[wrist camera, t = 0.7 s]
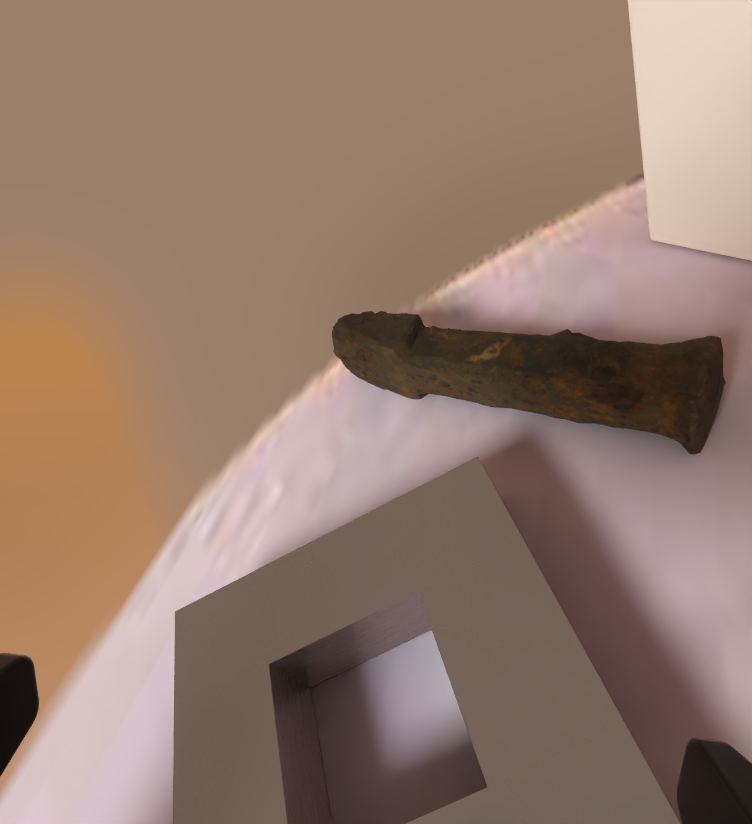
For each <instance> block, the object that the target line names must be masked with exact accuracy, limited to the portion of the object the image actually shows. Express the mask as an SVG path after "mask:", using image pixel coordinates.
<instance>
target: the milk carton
mask: <svg viewBox="0 0 752 824" xmlns="http://www.w3.org/2000/svg"><path fill="white" fill-rule="evenodd" d="M628 7H629V18H630V29H631V40H632V51H633V61H634V72H635V83H636V94H637V104H638V115H639V126H640V137H641V146H642V147H641V148H642V159H643V169H644V180H645V191H646V202H647V213H648V223H649V234H650V238H651V240H654V241H658V242H663V243H667V244H672V245H677V246H682V247H687V248H692V249H697V250H702V251H707V252H711V253H716V254H721V255H726V256H731V257H736V258H741V259H746V260H751V261H752V0H628Z"/></svg>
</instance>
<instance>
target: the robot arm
mask: <svg viewBox="0 0 752 824" xmlns="http://www.w3.org/2000/svg"><path fill="white" fill-rule="evenodd" d="M38 707H39V698H38V691H37V684H36V678H35V670H34V664H33V661H32V660H31V659H30V657H28V656H25V655H17V654H10V653H1V654H0V776H1V775H2V773H3V771H4V770H5V768H6V766H7V765H8V763H9V762H10V760H11V758H12V757H13V755H14V753H15V752H16V750H17V749H18V747H19V745H20V744H21V742H22V740H23V739H24V737H25V735H26V734H27V732H28V731H29V729H30V727H31V726H32V724H33V722H34V720H35V718H36V715H37V712H38ZM677 802H678V808H679V812H680V816H681V820H682V823H683V824H752V763H750V762H749V761H748V760H747V759H746V758H745V757H743V756H742V755H741V754H740V753H739V752H738V751H736V750H735V749H734V748H733V747H731V746H730V745H729V744H727V743H725V742H722V741H716V740H708V739H700V738H694V739H691V740H690V741H689V742H688V744H687V747H686V750H685V755H684V759H683V764H682V768H681V773H680V777H679V782H678V786H677Z"/></svg>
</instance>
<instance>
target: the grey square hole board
mask: <svg viewBox="0 0 752 824" xmlns="http://www.w3.org/2000/svg"><path fill="white" fill-rule="evenodd" d="M430 630H432V631H433V634H434V637H435V640H436V643H437V645H438V648H439V651H440V654H441V657H442V660H443V662H444V665H445V668H446V671H447V674H448V677H449V679H450V682H451V685H452V688H453V691H454V694H455V697H456V699H457V702H458V705H459V708H460V711H461V714H462V716H463V719H464V722H465V725H466V728H467V731H468V733H469V736H470V739H471V742H472V745H473V748H474V750H475V753H476V756H477V759H478V762H479V765H480V767H481V770H482V773H483V776H484V779H485V782H486V784H487V788H485V789H483V790H480V791H478V792H476V793H473V794H471V795H469V796H467V797H464V798H462V799H460V800H458V801H455V802H453V803H451V804H449V805H446V806H444V807H442V808H439V809H437V810H435V811H433V812H430V813H428V814H426V815H424V816H421V817H419V818H417V819H415V820H412V821H410V822H408V823H405V824H680V822H679V820H678V818H677V816H676V815H675V813H674V811H673V809H672V807H671V806H670V804H669V802H668V800H667V798H666V797H665V795H664V793H663V791H662V789H661V787H660V786H659V784H658V782H657V780H656V778H655V777H654V775H653V773H652V771H651V769H650V768H649V766H648V764H647V762H646V760H645V759H644V757H643V755H642V753H641V751H640V749H639V748H638V746H637V744H636V742H635V740H634V739H633V737H632V735H631V733H630V731H629V730H628V728H627V726H626V724H625V722H624V720H623V719H622V717H621V715H620V713H619V711H618V710H617V708H616V706H615V704H614V702H613V701H612V699H611V697H610V695H609V693H608V691H607V690H606V688H605V686H604V684H603V682H602V681H601V679H600V677H599V675H598V673H597V672H596V670H595V668H594V666H593V664H592V663H591V661H590V659H589V657H588V655H587V653H586V652H585V650H584V648H583V646H582V644H581V643H580V641H579V639H578V637H577V635H576V634H575V632H574V630H573V628H572V626H571V624H570V623H569V621H568V619H567V617H566V615H565V614H564V612H563V610H562V608H561V606H560V605H559V603H558V601H557V599H556V597H555V595H554V594H553V592H552V590H551V588H550V586H549V585H548V583H547V581H546V579H545V577H544V576H543V574H542V572H541V570H540V568H539V567H538V565H537V563H536V561H535V559H534V557H533V556H532V554H531V552H530V550H529V548H528V547H527V545H526V543H525V541H524V539H523V538H522V536H521V534H520V532H519V530H518V528H517V527H516V525H515V523H514V521H513V519H512V518H511V516H510V514H509V512H508V510H507V509H506V507H505V505H504V503H503V501H502V499H501V498H500V496H499V494H498V492H497V490H496V489H495V487H494V485H493V483H492V481H491V480H490V478H489V476H488V474H487V472H486V471H485V469H484V467H483V465H482V463H481V461H480V460H479V458H478V457H477V458H475V459H473V460H471V461H469V462H467V463H465V464H463V465H461V466H459V467H457V468H455V469H453V470H451V471H449V472H447V473H445V474H444V475H442V476H440V477H438V478H436V479H434V480H432V481H430V482H428V483H426V484H424V485H422V486H420V487H418V488H416V489H414V490H412V491H410V492H408V493H406V494H404V495H402V496H400V497H399V498H397V499H395V500H393V501H391V502H389V503H387V504H385V505H383V506H381V507H379V508H377V509H375V510H373V511H371V512H369V513H367V514H365V515H363V516H361V517H359V518H357V519H355V520H354V521H352V522H350V523H348V524H346V525H344V526H342V527H340V528H338V529H336V530H334V531H332V532H330V533H328V534H326V535H324V536H322V537H320V538H318V539H316V540H314V541H312V542H310V543H309V544H307V545H305V546H303V547H301V548H299V549H297V550H295V551H293V552H291V553H289V554H287V555H285V556H283V557H281V558H279V559H277V560H275V561H273V562H271V563H269V564H267V565H265V566H264V567H262V568H260V569H258V570H256V571H254V572H252V573H250V574H248V575H246V576H244V577H242V578H240V579H238V580H236V581H234V582H232V583H230V584H228V585H226V586H224V587H222V588H220V589H219V590H217V591H215V592H213V593H211V594H209V595H207V596H205V597H203V598H201V599H199V600H197V601H195V602H193V603H191V604H189V605H187V606H185V607H183V608H181V609H179V610H177V611H175V675H174V777H173V824H332V818H331V812H330V806H329V800H328V794H327V788H326V782H325V776H324V770H323V764H322V758H321V752H320V746H319V740H318V734H317V728H316V722H315V716H314V710H313V704H312V698H311V692H310V688H311V687H313V686H315V685H317V684H319V683H321V682H323V681H325V680H327V679H329V678H332V677H334V676H336V675H338V674H340V673H342V672H344V671H346V670H348V669H350V668H352V667H354V666H357V665H359V664H361V663H363V662H365V661H367V660H369V659H371V658H373V657H375V656H377V655H379V654H382V653H384V652H386V651H388V650H390V649H392V648H394V647H396V646H398V645H400V644H402V643H404V642H407V641H409V640H411V639H413V638H415V637H417V636H419V635H421V634H423V633H425V632H427V631H430Z"/></svg>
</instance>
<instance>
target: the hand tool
mask: <svg viewBox="0 0 752 824" xmlns="http://www.w3.org/2000/svg"><path fill="white" fill-rule="evenodd" d="M332 338H333V345H334V353H335V355H336V356H337V357H338V358H339V359H341V361H342V362H343V364H344V365H345V367H346V368H347V369H348V370H350V371H351V373H353V374H354V375H356V376H357V377H359V378H360V379H362V380H365V381H366V382H368V383H370V384H373V385H375V386H377V387H379V388H381V389H388V390H390V391H392V392H395V393H397V394H400V395H402V396H405V397H408V398H411V399H421V398H423V397H424V396H426V395H427V394H436V395H442V396H448V397H452V398H456V399H461V400H466V401H471V402H476V403H479V404H482V405H486V406H490V407H498V408H512V409H517V410H523V411H528V412H534V413H539V414H543V415H547V416H550V417H554V418H560V419H567V420H570V421H574V422H577V423H596V424H603V425H607V426H610V427H618V428H627V429H633V430H639V431H646V432H651V433H656V434H660V435H664V436H667V437H670V438H672V439H674V440H676V441H678V442H679V443H681V444H682V445H683V446H684V448H685V449H686V450H687V451H688V452H689V454H698V453H700V452H701V450H702V449H703V447H704V444H705V442H706V439H707V436H708V434H709V431H710V429H711V426H712V424H713V421H714V418H715V415H716V412H717V409H718V406H719V402H720V399H721V395H722V392H723V387H724V385H725V380H724V377H723V348H722V343H721V338H719V337H715V336H707V337H705V338H697V339H692V340H688V341H684V342H682V343H670V344H663V345H659V344H646V343H636V342H629V341H628V342H617V341H605V340H598V339H595V338H592V337H588V336H585V335H583V334H581V333H572V332H571V331H569V330H568V329H567V330H564V331H562V332H559V333H556V334H554V335H551V336H544V335H527V334H512V333H501V332H484V331H465V330H461V329H460V330H454V329H440V328H437V327H435V326H432V327H431V328H429V327H425V326H424V325H423V323H422V320H421V318H420V317H419V315H413V314H407V313H401V314H387V313H386V312H382V311H380V312H378V313H376V314H374V313H373V312H372V311H371V312H363V313H361V314H349V315H346V316H343V317H342V318H340V319H338V322H337V323H336V324H335V326H334V327H333V331H332Z"/></svg>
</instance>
